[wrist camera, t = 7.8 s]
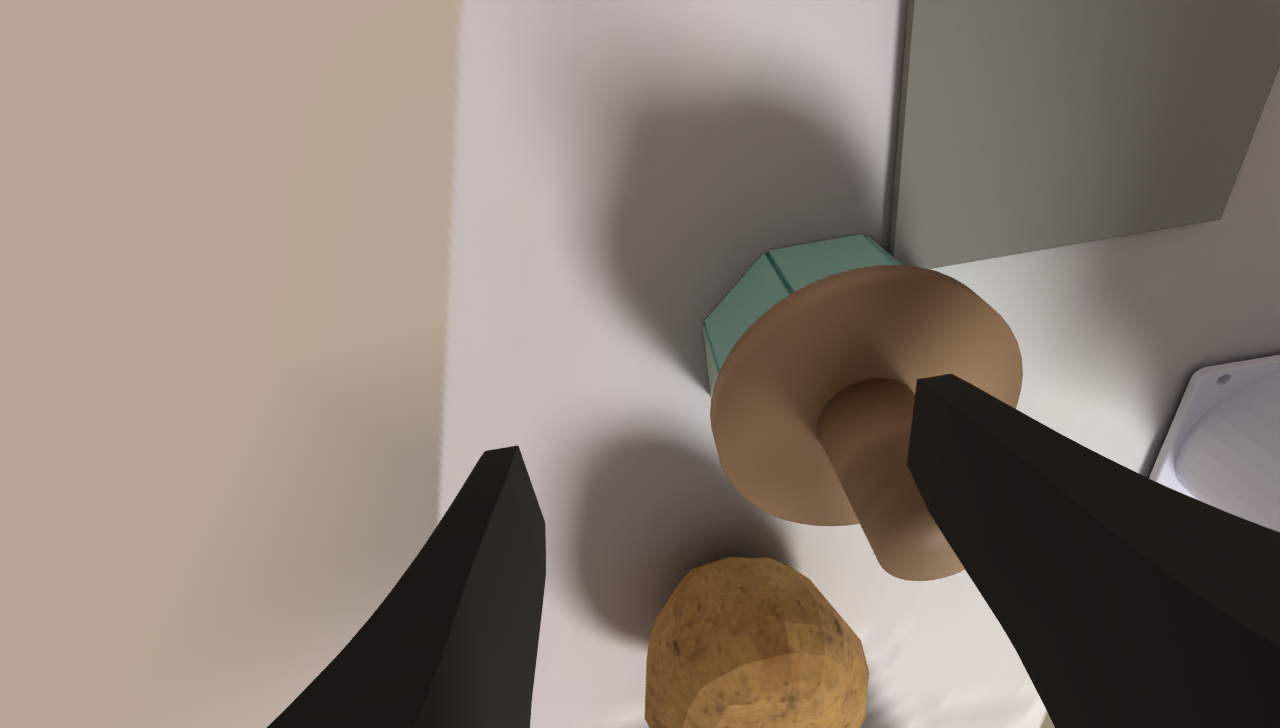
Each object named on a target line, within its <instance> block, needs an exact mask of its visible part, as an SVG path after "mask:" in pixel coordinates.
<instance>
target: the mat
mask: <svg viewBox="0 0 1280 728" xmlns="http://www.w3.org/2000/svg"><path fill="white" fill-rule="evenodd" d="M1279 66H1280V0H908V8H907V21H906V34H905V47H904V60H903V73H902V86H901V99H900V112H899V125H898V138H897V151H896V164H895V177H894V190H893V203H892V216H891V229H890V242H889V253H890V254H891V255H892V256H893V257H894V258H895V259H896V260H898V261H899V262H900V263H901V264H902V265H904V266H914V267H920V268H925V269H932V268H938V267H943V266H949V265H955V264H961V263H967V262H973V261H979V260H985V259H990V258H996V257H1002V256H1008V255H1014V254H1020V253H1026V252H1031V251H1037V250H1043V249H1049V248H1055V247H1061V246H1067V245H1073V244H1078V243H1084V242H1090V241H1096V240H1102V239H1108V238H1114V237H1120V236H1125V235H1131V234H1137V233H1143V232H1149V231H1155V230H1161V229H1167V228H1172V227H1178V226H1184V225H1190V224H1196V223H1202V222H1208V221H1214V220H1219V219H1221V217H1222V214H1223V211H1224V209H1225V206H1226V204H1227V201H1228V198H1229V196H1230V193H1231V191H1232V188H1233V185H1234V183H1235V180H1236V178H1237V175H1238V173H1239V170H1240V167H1241V165H1242V162H1243V160H1244V157H1245V154H1246V152H1247V149H1248V147H1249V144H1250V141H1251V139H1252V136H1253V134H1254V131H1255V128H1256V126H1257V123H1258V121H1259V118H1260V115H1261V113H1262V110H1263V108H1264V105H1265V102H1266V100H1267V97H1268V95H1269V92H1270V89H1271V87H1272V84H1273V82H1274V79H1275V76H1276V74H1277V71H1278V69H1279Z"/></svg>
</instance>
